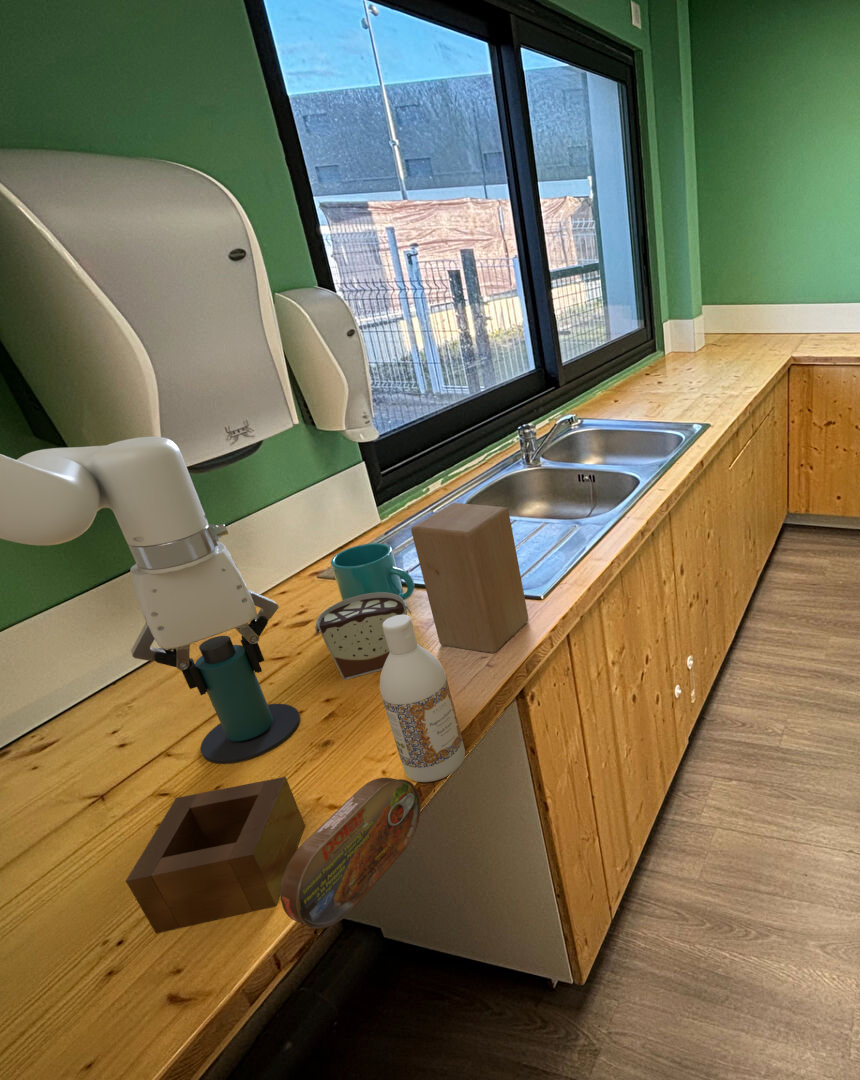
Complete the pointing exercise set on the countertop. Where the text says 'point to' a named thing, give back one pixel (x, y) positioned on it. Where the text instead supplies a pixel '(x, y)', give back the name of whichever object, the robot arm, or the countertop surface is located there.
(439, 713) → the bath foam
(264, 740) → the coaster
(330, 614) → the food container
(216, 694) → the bottle
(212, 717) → the countertop surface
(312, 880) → the tin
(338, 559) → the cup
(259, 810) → the holder
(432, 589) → the wooden block
